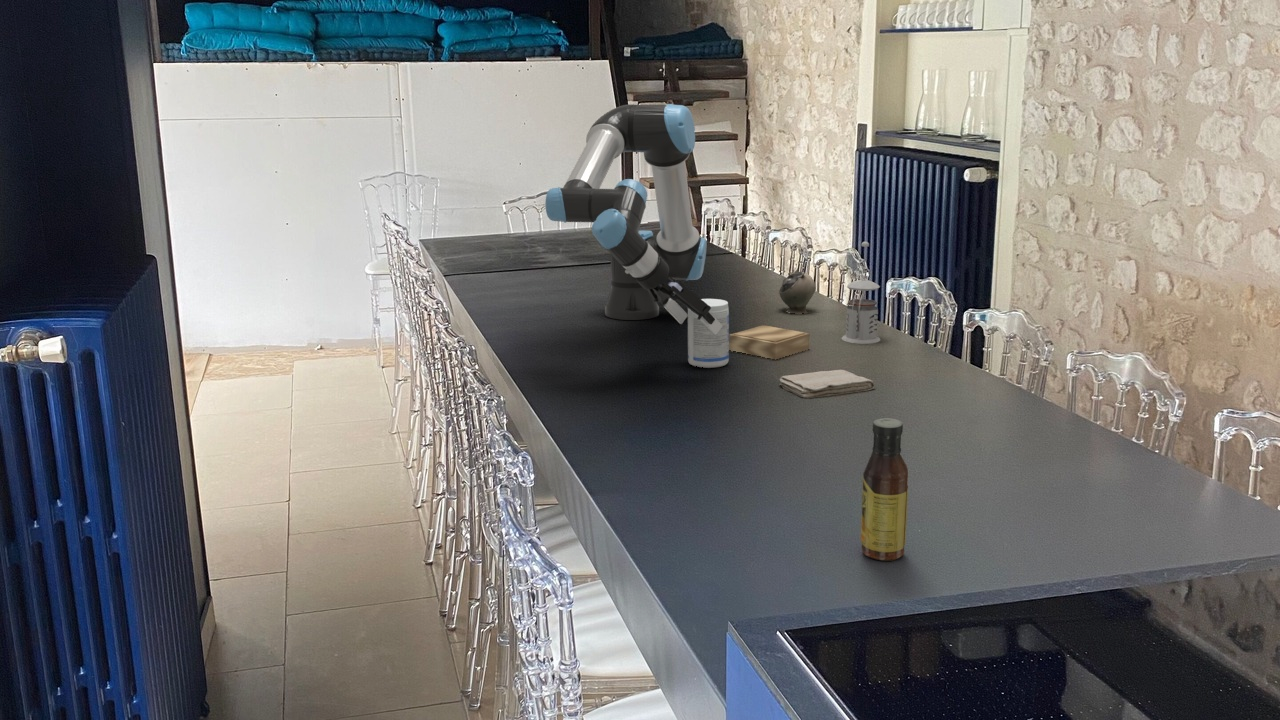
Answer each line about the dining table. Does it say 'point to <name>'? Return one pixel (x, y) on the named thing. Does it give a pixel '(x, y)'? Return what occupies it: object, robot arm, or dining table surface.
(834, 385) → the washcloth
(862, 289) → the french press
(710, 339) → the supplement tub
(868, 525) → the sauce bottle
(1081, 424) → the dining table surface
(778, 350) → the riser
